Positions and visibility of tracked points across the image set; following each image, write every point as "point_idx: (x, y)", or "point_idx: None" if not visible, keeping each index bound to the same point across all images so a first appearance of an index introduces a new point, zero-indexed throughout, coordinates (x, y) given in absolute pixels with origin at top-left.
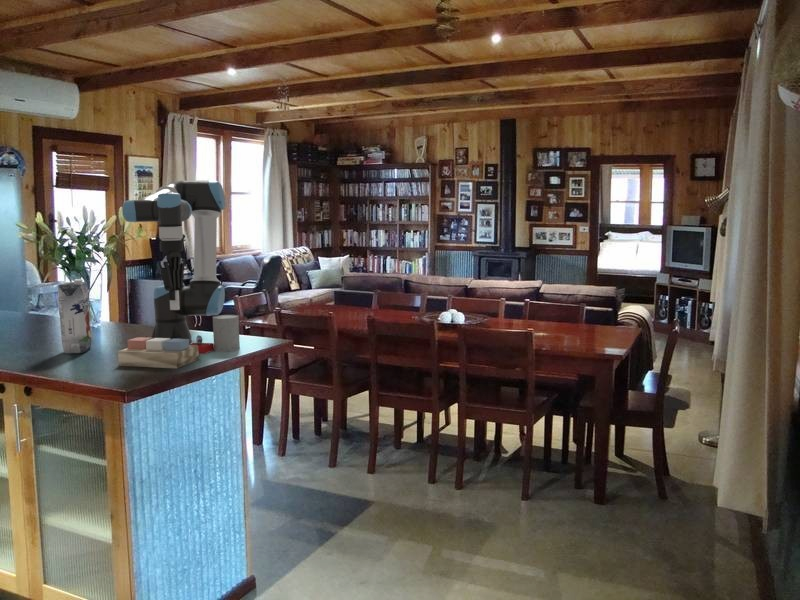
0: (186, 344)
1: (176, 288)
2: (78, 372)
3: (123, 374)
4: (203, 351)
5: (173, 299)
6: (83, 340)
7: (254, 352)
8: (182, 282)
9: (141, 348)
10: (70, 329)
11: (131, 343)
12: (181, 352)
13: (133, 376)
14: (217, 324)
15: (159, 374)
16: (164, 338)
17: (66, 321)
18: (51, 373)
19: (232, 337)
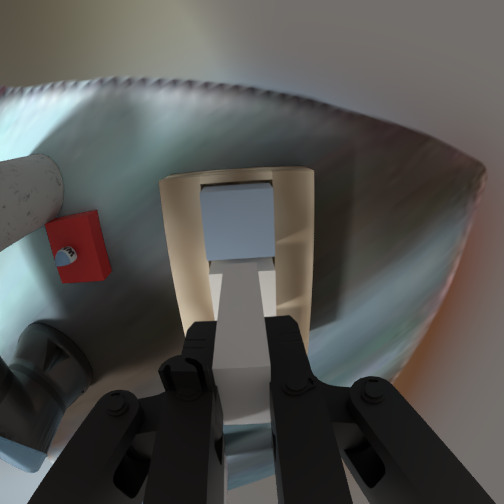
0: (222, 188)
1: (218, 404)
2: (365, 360)
3: (382, 266)
4: (95, 217)
5: (291, 320)
6: None
7: (53, 84)
8: (86, 435)
9: None
10: None
11: None
12: (279, 171)
13: (398, 230)
14: (12, 213)
15: (374, 176)
16: (216, 294)
17: (225, 496)
18: None
19: (23, 161)
